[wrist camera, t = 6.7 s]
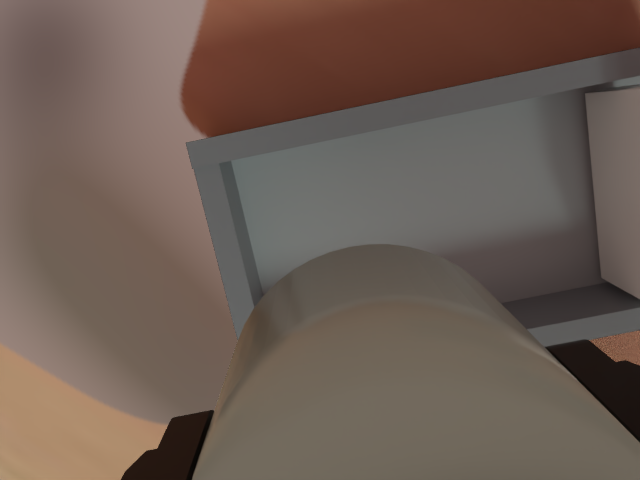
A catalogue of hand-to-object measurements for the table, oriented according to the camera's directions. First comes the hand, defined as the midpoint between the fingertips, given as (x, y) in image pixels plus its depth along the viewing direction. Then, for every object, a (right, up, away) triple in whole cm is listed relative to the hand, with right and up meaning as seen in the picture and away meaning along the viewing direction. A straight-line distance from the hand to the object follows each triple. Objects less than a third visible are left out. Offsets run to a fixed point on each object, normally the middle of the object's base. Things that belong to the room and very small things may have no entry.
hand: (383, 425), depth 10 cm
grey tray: (+5, +5, +15) cm, 17 cm away
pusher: (+12, +6, +14) cm, 19 cm away
